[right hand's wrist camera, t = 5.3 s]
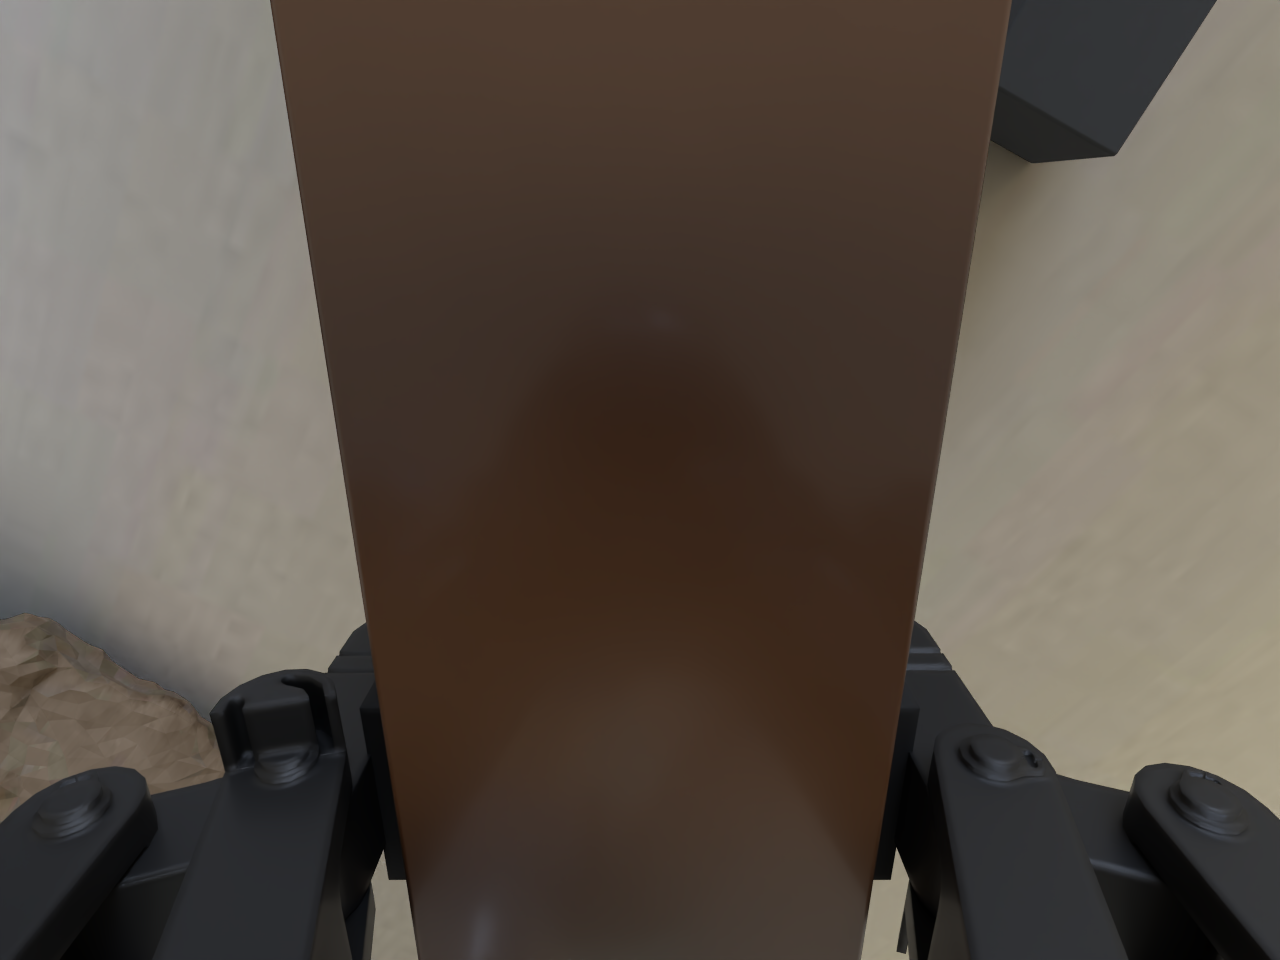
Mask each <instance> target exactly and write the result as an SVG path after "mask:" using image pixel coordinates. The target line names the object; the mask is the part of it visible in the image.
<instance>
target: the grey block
mask: <svg viewBox="0 0 1280 960" xmlns="http://www.w3.org/2000/svg"><path fill="white" fill-rule="evenodd" d="M1216 1H1217V0H1012V4H1011V10H1010V16H1009V23H1008V29H1007V35H1006V42H1005V48H1004V54H1003V61H1002V67H1001V73H1000V80H999V86H998V92H997V99H996V105H995V111H994V118H993V124H992V130H991V137H990V140H992V141H994V142H995V143H997V144H999V145H1001V146H1002V147H1004V148H1006V149H1008V150H1010V151H1011V152H1013V153H1015V154H1017V155H1018V156H1020V157H1022V158H1024V159H1026V160H1027V161H1029V162H1031V163H1042V162H1053V161H1064V160H1075V159H1086V158H1097V157H1108V156H1115V155H1116V154H1117V153H1118V151H1119V150H1120V148H1121V147H1122V145H1123V144H1124V142H1125V141H1126V139H1127V138H1128V136H1129V134H1130V133H1131V131H1132V130H1133V128H1134V127H1135V125H1136V124H1137V122H1138V121H1139V119H1140V118H1141V116H1142V114H1143V113H1144V111H1145V110H1146V108H1147V107H1148V105H1149V104H1150V102H1151V101H1152V99H1153V98H1154V96H1155V95H1156V93H1157V91H1158V90H1159V88H1160V87H1161V85H1162V84H1163V82H1164V81H1165V79H1166V78H1167V76H1168V75H1169V73H1170V71H1171V70H1172V68H1173V67H1174V65H1175V64H1176V62H1177V61H1178V59H1179V58H1180V56H1181V55H1182V53H1183V52H1184V50H1185V48H1186V47H1187V45H1188V44H1189V42H1190V41H1191V39H1192V38H1193V36H1194V35H1195V33H1196V32H1197V30H1198V28H1199V27H1200V25H1201V24H1202V22H1203V21H1204V19H1205V18H1206V16H1207V15H1208V13H1209V12H1210V10H1211V8H1212V7H1213V5H1214V4H1215V2H1216Z"/></svg>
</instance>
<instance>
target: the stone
mask: <svg viewBox="0 0 1280 960" xmlns="http://www.w3.org/2000/svg"><path fill="white" fill-rule="evenodd" d="M112 766H119V767H125V768H132V769H135V770H136V771H138V772H139V773H140V774H141V775H142V776H144V777H145V779H146V782H147V785H148V788H149V791H150V794H151V795H153V794H157V793H161V792H166V791H170V790H174V789H179V788H183V787H188V786H192V785H196V784H201V783H205V782H208V781H212V780H215V779H218V778H222V777H223V775H224V773H225V770H224V766H223V762H222V759H221V755H220V751H219V747H218V743H217V740H216V736H215V732H214V728H213V725H212V724H211V723H210V722H209V721H207V720H206V719H204V718H202V717H201V716H200V715H199V714H198V712H197V711H196V710H195V708H194V707H193V706H192V704H191V703H190V702H189V701H187V700H186V699H184V698H183V697H181V696H180V695H178V694H177V693H175V692H173V691H168V690H164V689H163V688H162V687H160V686H159V685H158V684H156V683H155V682H152V681H147V680H142V679H139V678H137V677H135V676H134V675H132V674H131V673H129V672H128V671H126V670H125V669H123V668H122V667H120V666H119V665H117V664H116V663H114V662H113V661H112V660H111V659H110V658H109V657H108V655H107V654H106V653H105V652H104V650H102V649H99V648H97V647H94V646H91V645H89V644H88V643H86V642H84V641H83V640H81V639H79V638H78V637H76V636H75V635H73V634H72V633H70V632H69V631H67V630H66V629H65V628H63V627H62V626H61V625H60V624H59V623H57V622H55V621H53V620H52V619H50V618H43V617H37V616H35V615H32V614H27V613H23V614H20V615H17V616H14V617H11V618H8V619H5V620H2V619H0V823H1V822H2V821H3V820H5V819H6V818H7V817H8V816H9V815H10V814H11V813H12V812H13V811H14V810H15V809H16V808H18V807H19V806H20V805H22V804H23V803H24V802H25V801H27V800H28V799H29V798H30V797H32V796H33V795H34V794H36V793H37V792H39V791H41V790H43V789H45V788H47V787H49V786H50V785H52V784H54V783H56V782H58V781H60V780H62V779H64V778H67V777H70V776H72V775H76V774H78V773H82V772H85V771H87V770H90V769H97V768H105V767H112Z"/></svg>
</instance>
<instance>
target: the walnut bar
mask: <svg viewBox="0 0 1280 960" xmlns="http://www.w3.org/2000/svg"><path fill="white" fill-rule="evenodd" d="M270 3H271V9H272V16H273V22H274V29H275V35H276V41H277V48H278V54H279V61H280V67H281V74H282V80H283V87H284V93H285V100H286V106H287V113H288V119H289V126H290V132H291V138H292V145H293V151H294V158H295V164H296V171H297V177H298V184H299V190H300V197H301V203H302V210H303V216H304V222H305V229H306V235H307V242H308V248H309V255H310V261H311V268H312V274H313V281H314V287H315V294H316V300H317V307H318V313H319V319H320V326H321V332H322V339H323V345H324V352H325V358H326V365H327V371H328V378H329V384H330V391H331V397H332V403H333V410H334V416H335V423H336V429H337V436H338V442H339V449H340V455H341V462H342V468H343V475H344V481H345V487H346V494H347V500H348V507H349V513H350V520H351V526H352V533H353V539H354V546H355V552H356V559H357V565H358V572H359V578H360V584H361V591H362V597H363V604H364V610H365V617H366V623H367V630H368V636H369V643H370V649H371V656H372V662H373V668H374V675H375V681H376V688H377V694H378V701H379V707H380V714H381V720H382V727H383V733H384V740H385V746H386V753H387V759H388V765H389V772H390V778H391V785H392V791H393V798H394V804H395V811H396V817H397V824H398V830H399V837H400V843H401V849H402V856H403V862H404V869H405V875H406V882H407V888H408V895H409V901H410V908H411V914H412V921H413V927H414V934H415V940H416V946H417V953H418V959H419V960H861V954H862V948H863V942H864V935H865V929H866V923H867V916H868V910H869V904H870V897H871V891H872V885H873V878H874V872H875V866H876V859H877V853H878V847H879V840H880V834H881V828H882V821H883V815H884V809H885V802H886V796H887V790H888V783H889V777H890V771H891V764H892V758H893V752H894V745H895V739H896V733H897V726H898V720H899V714H900V707H901V701H902V694H903V688H904V682H905V675H906V669H907V663H908V656H909V650H910V644H911V637H912V631H913V625H914V618H915V612H916V606H917V599H918V593H919V587H920V580H921V574H922V568H923V561H924V555H925V549H926V542H927V536H928V530H929V523H930V517H931V511H932V504H933V498H934V492H935V485H936V479H937V473H938V466H939V460H940V454H941V447H942V441H943V435H944V428H945V422H946V416H947V409H948V403H949V397H950V390H951V384H952V378H953V371H954V365H955V359H956V352H957V346H958V340H959V333H960V327H961V321H962V314H963V308H964V302H965V295H966V289H967V283H968V276H969V270H970V264H971V257H972V251H973V245H974V238H975V232H976V225H977V219H978V213H979V206H980V200H981V194H982V187H983V181H984V175H985V168H986V162H987V156H988V149H989V143H990V137H991V130H992V124H993V118H994V111H995V105H996V99H997V92H998V86H999V80H1000V73H1001V67H1002V61H1003V54H1004V48H1005V42H1006V35H1007V29H1008V23H1009V16H1010V10H1011V4H1012V0H270Z"/></svg>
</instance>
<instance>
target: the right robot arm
mask: <svg viewBox="0 0 1280 960" xmlns="http://www.w3.org/2000/svg"><path fill="white" fill-rule="evenodd" d="M210 717H211V721H212V725H213V728H214V732H215V736H216V740H217V743H218V747H219V751H220V755H221V759H222V762H223V766H224V770H225V773H224V775H223V777H222V778H218V779H215V780H212V781H208V782H205V783H201V784H196V785H192V786H188V787H183V788H179V789H174V790H170V791H166V792H161V793H157V794H153V795H151V794H150V791H149V788H148V785H147V782H146V779H145V777H144V776H142V775H141V774H140V773H139V772H138V771H136V770H135V769H132V768H125V767H119V766H112V767H105V768H97V769H90V770H87V771H85V772H82V773H78V774H76V775H72V776H70V777H67V778H64V779H62V780H60V781H58V782H56V783H54V784H52V785H50V786H49V787H47V788H45V789H43V790H41V791H39V792H37V793H36V794H34V795H33V796H32V797H30V798H29V799H28V800H27V801H25V802H24V803H23V804H22V805H20V806H19V807H18V808H16V809H15V810H14V811H13V812H12V813H11V814H10V815H9V816H8V817H7V818H6V819H5V820H3V821H2V822H1V823H0V960H371V951H372V941H373V930H374V920H375V910H376V909H375V902H374V895H373V889H372V884H371V879H372V877H373V874H374V872H375V869H376V867H377V864H378V862H379V859H380V857H381V854H382V852H383V849H384V854H385V860H386V866H387V872H388V878H389V880H406V875H405V869H404V862H403V856H402V849H401V843H400V837H399V830H398V824H397V817H396V811H395V804H394V798H393V791H392V785H391V778H390V772H389V765H388V759H387V753H386V746H385V740H384V733H383V727H382V720H381V714H380V707H379V701H378V694H377V688H376V681H375V675H374V668H373V662H372V656H371V649H370V643H369V636H368V630H367V623H365V624H363V625H362V626H360V627H359V628H358V629H356V630H355V631H353V633H352V634H351V636H350V637H349V639H348V640H347V642H346V643H345V645H344V646H343V647H342V649H341V650H340V654H339V656H336V658H335V659H334V661H333V662H332V664H331V665H330V667H329V668H328V673H325V674H324V673H321V672H317V671H313V670H309V669H294V670H283V671H278V672H274V673H270V674H266V675H262V676H260V677H257V678H255V679H253V680H251V681H248V682H246V683H244V684H242V685H239V686H238V687H237V688H235V689H234V690H232V691H231V692H230V693H228V694H227V695H225V696H224V697H223V698H221V699H220V701H219V702H218V703H217V704H216V706H215V707H214V708H213V710H212V711H211V712H210ZM896 847H897V849H898V852H899V854H900V857H901V859H902V862H903V864H904V867H905V869H906V872H907V874H908V877H909V884H908V889H907V895H906V900H905V906H904V911H903V917H902V922H901V927H900V933H899V939H898V946H897V952H900V953H905V954H906V951H907V945H908V949H909V960H1280V820H1279V819H1278V818H1277V817H1276V816H1275V815H1274V814H1273V813H1272V812H1271V811H1270V810H1269V809H1268V808H1267V807H1266V806H1264V805H1263V804H1262V803H1261V802H1259V801H1258V800H1257V799H1255V798H1254V797H1253V796H1252V795H1250V794H1249V793H1248V792H1246V791H1245V790H1244V789H1242V788H1240V787H1238V786H1236V785H1234V784H1232V783H1230V782H1228V781H1227V780H1225V779H1223V778H1221V777H1219V776H1217V775H1214V774H1211V773H1209V772H1205V771H1202V770H1199V769H1196V768H1193V767H1190V766H1184V765H1176V764H1169V763H1161V764H1154V765H1148V766H1145V767H1144V768H1143V769H1141V770H1140V771H1139V772H1138V773H1137V774H1135V777H1134V780H1133V783H1132V786H1131V789H1130V792H1127V791H1123V790H1118V789H1114V788H1110V787H1105V786H1101V785H1096V784H1092V783H1088V782H1083V781H1079V780H1075V779H1071V778H1068V777H1065V776H1061V775H1058V774H1056V772H1055V770H1054V768H1053V767H1052V765H1051V764H1050V762H1049V761H1048V759H1047V758H1046V756H1045V755H1044V754H1043V753H1042V752H1040V751H1039V750H1038V749H1037V748H1035V747H1034V746H1033V745H1032V744H1031V743H1029V742H1028V741H1027V740H1025V739H1023V738H1021V737H1019V736H1017V735H1015V734H1013V733H1011V732H1009V731H1007V730H1004V729H1000V728H997V727H993V726H992V724H991V723H990V721H989V720H988V718H987V717H986V716H985V714H984V713H983V711H982V710H981V708H980V707H979V705H978V704H977V702H976V701H975V699H974V698H973V697H972V695H971V694H970V692H969V691H968V689H967V688H966V686H965V685H964V683H963V682H962V680H961V679H960V678H959V676H958V675H957V673H956V672H955V670H952V666H951V664H950V663H949V661H948V660H947V658H946V657H945V656H944V654H943V653H940V648H939V647H938V645H937V644H936V642H935V641H934V639H933V638H932V637H931V635H930V634H929V632H928V631H927V629H925V628H924V627H923V626H921V625H920V624H918V623H917V622H916V621H914V625H913V631H912V637H911V644H910V650H909V656H908V663H907V669H906V675H905V682H904V688H903V694H902V701H901V707H900V714H899V720H898V726H897V733H896V739H895V745H894V752H893V758H892V764H891V771H890V777H889V783H888V790H887V796H886V802H885V809H884V815H883V821H882V828H881V834H880V840H879V847H878V853H877V859H876V866H875V872H874V878H873V880H891V875H892V869H893V863H894V857H895V852H896Z"/></svg>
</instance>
